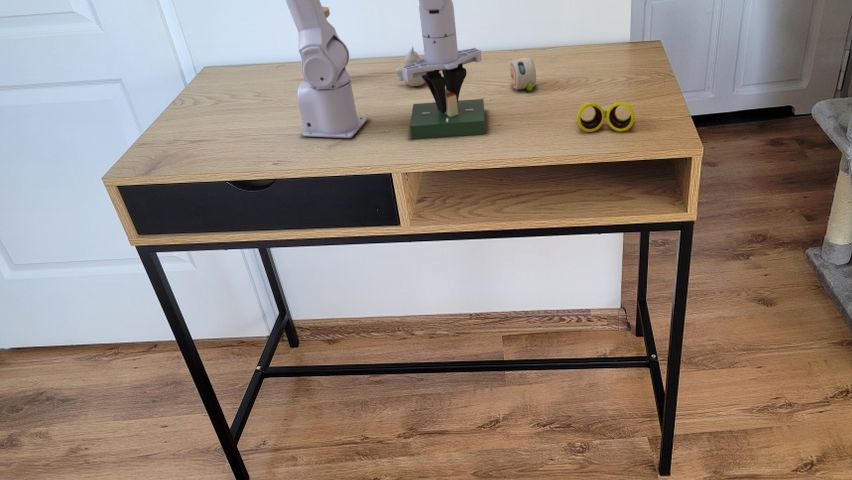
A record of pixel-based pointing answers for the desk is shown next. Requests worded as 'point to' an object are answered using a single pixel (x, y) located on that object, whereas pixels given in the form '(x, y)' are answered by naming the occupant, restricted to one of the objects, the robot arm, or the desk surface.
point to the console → (447, 120)
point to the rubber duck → (408, 60)
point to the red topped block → (451, 104)
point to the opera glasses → (602, 114)
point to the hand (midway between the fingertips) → (447, 109)
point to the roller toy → (523, 73)
